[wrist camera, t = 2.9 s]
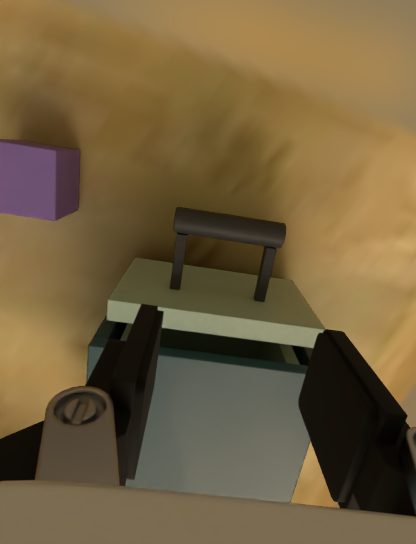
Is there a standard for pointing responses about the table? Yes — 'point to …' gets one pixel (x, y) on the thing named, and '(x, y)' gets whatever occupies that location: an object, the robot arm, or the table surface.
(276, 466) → the small teal cabinet
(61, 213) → the purple rounded cube
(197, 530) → the robot arm
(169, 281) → the drawer
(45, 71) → the table surface
